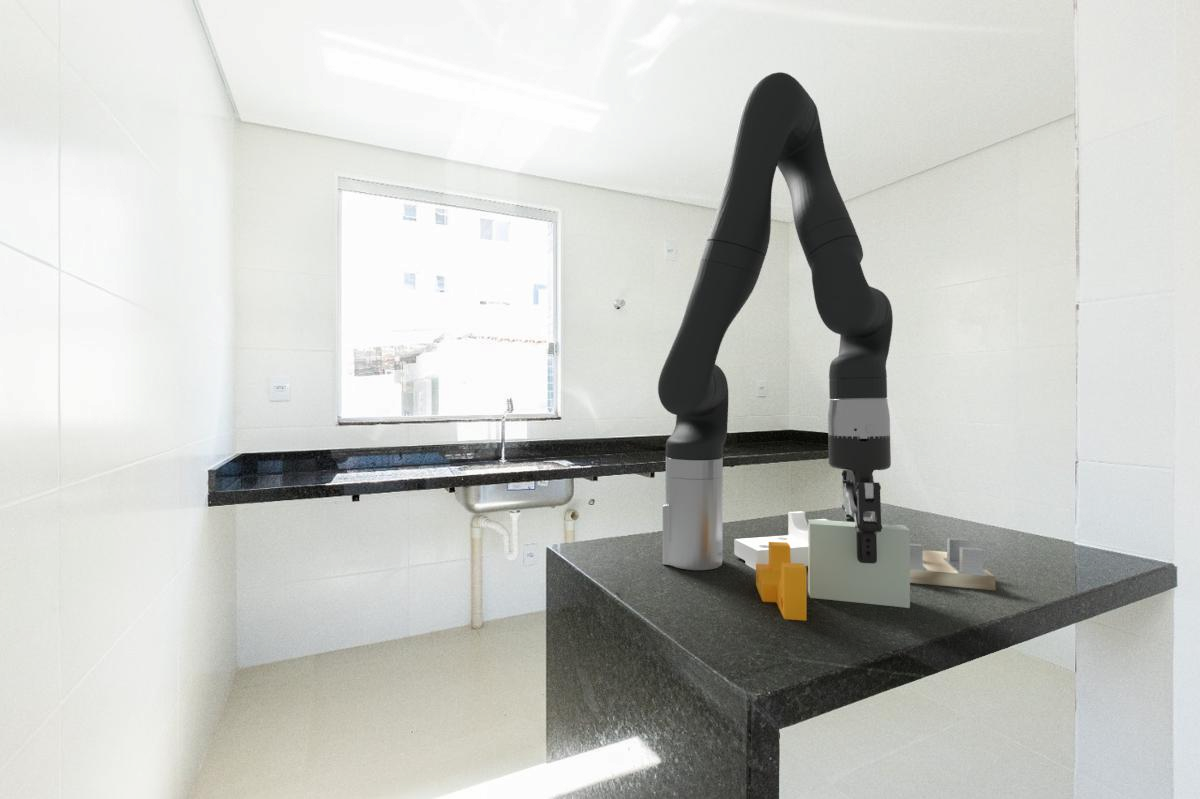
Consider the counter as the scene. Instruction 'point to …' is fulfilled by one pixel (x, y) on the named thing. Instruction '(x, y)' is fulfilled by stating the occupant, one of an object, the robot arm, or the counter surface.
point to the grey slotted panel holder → (953, 557)
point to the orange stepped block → (783, 582)
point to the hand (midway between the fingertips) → (860, 553)
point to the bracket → (759, 547)
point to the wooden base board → (948, 574)
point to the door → (858, 565)
